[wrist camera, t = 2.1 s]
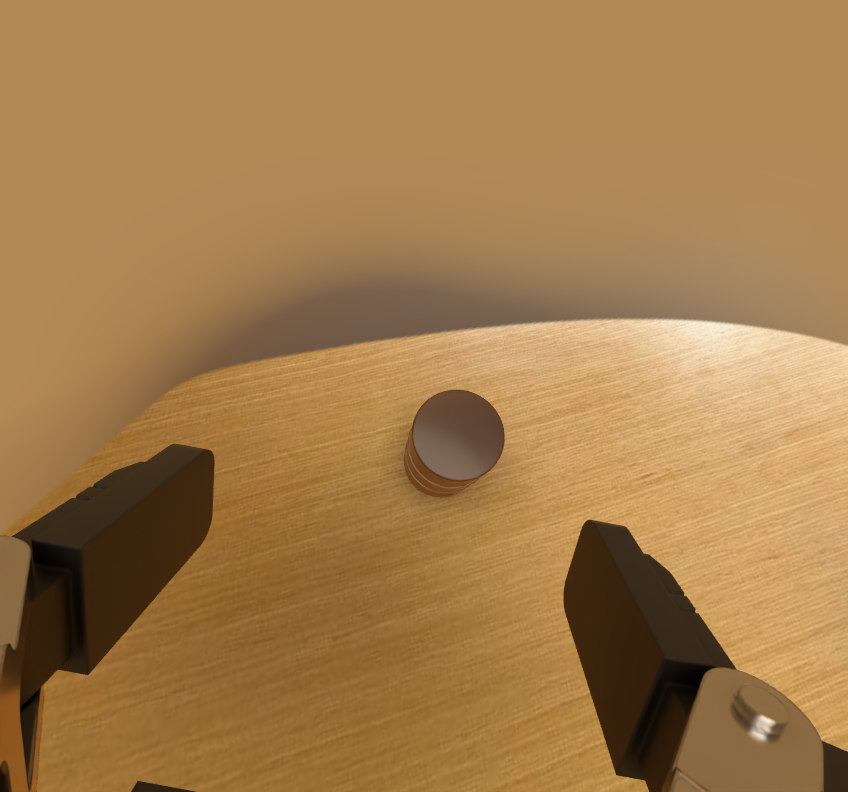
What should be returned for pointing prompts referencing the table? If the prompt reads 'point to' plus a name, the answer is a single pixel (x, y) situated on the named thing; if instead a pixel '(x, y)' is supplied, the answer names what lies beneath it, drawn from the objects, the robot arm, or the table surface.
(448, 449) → the brown ridged cylinder
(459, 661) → the table surface
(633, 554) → the robot arm
